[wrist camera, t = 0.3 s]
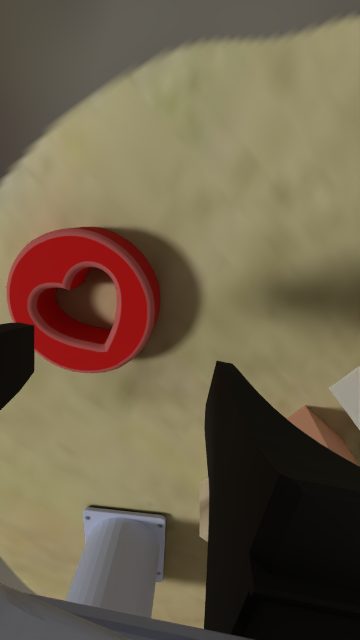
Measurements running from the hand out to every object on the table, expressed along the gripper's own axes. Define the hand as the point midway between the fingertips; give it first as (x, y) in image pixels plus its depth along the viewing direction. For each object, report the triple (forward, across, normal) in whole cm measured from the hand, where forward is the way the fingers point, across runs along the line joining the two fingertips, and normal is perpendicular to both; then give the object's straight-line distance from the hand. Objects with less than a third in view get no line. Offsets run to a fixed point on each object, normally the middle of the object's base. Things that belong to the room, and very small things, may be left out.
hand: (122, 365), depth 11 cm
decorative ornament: (+10, +5, +1) cm, 11 cm away
